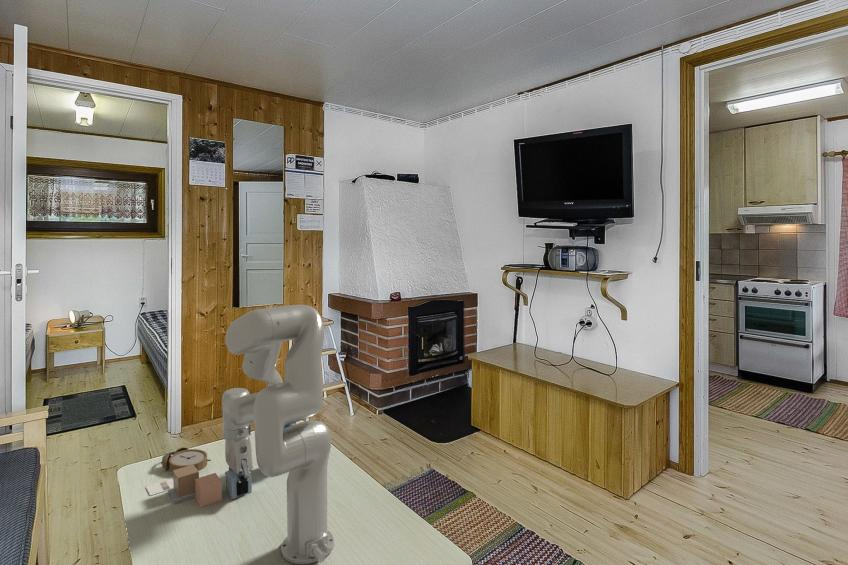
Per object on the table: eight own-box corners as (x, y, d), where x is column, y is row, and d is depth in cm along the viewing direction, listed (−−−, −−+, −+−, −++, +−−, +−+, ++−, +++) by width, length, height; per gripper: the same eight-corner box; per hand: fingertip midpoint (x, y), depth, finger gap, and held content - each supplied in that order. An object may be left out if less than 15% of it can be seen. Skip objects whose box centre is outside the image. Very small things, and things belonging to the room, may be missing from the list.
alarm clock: (190, 469, 146) (152, 454, 149) (189, 483, 146) (150, 468, 150) (215, 453, 156) (179, 440, 160) (213, 467, 157) (177, 453, 161)
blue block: (251, 492, 138) (251, 472, 137) (232, 498, 134) (231, 479, 134) (244, 484, 142) (244, 465, 142) (225, 490, 139) (225, 471, 138)
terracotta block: (222, 500, 134) (221, 480, 133) (201, 507, 130) (200, 487, 130) (215, 491, 138) (215, 472, 138) (195, 498, 135) (194, 479, 134)
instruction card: (183, 485, 141) (183, 484, 141) (150, 496, 135) (150, 495, 135) (178, 477, 146) (178, 476, 146) (145, 487, 140) (145, 486, 140)
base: (205, 493, 137) (204, 471, 136) (175, 503, 132) (174, 481, 131) (197, 482, 143) (196, 461, 142) (168, 492, 138) (167, 470, 137)
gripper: (261, 437, 133) (262, 497, 134) (239, 419, 145) (240, 474, 147) (234, 444, 128) (236, 507, 129) (214, 425, 140) (216, 482, 142)
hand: (238, 488), depth 138 cm, fingers closed on blue block, 5 cm apart
